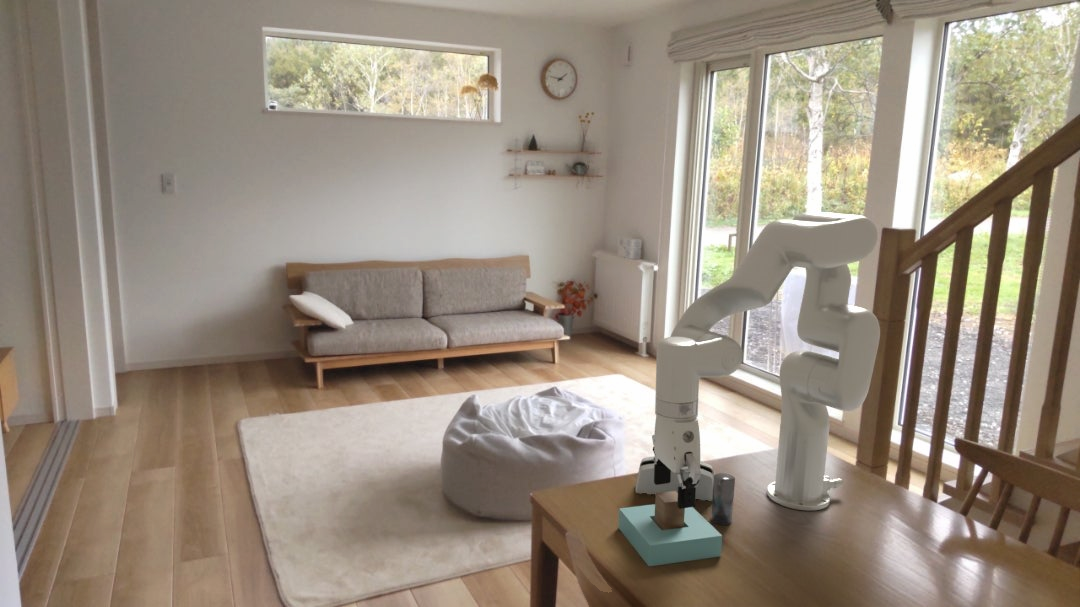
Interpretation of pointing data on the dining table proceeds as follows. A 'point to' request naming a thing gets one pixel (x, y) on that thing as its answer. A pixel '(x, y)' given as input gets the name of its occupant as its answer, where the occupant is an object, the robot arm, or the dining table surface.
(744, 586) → the dining table surface
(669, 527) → the square peg
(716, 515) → the round peg
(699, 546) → the bore block
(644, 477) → the slotted arch block
